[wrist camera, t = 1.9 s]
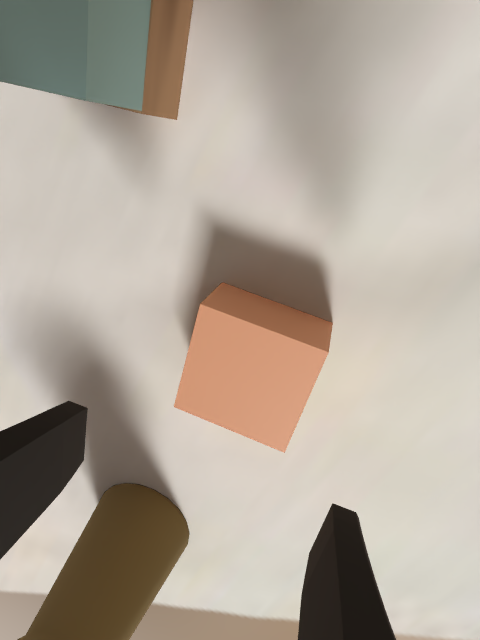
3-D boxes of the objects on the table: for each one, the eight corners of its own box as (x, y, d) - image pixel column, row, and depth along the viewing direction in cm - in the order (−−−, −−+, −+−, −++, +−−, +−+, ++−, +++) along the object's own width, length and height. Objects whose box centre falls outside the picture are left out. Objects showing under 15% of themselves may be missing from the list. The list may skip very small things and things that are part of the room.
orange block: (198, 372, 20) (173, 406, 17) (223, 280, 18) (200, 303, 15) (294, 410, 19) (284, 452, 17) (333, 320, 17) (328, 352, 14)
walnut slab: (65, 91, 16) (8, 79, 14) (69, -68, 14) (3, -118, 12) (178, 120, 16) (141, 114, 13) (201, -43, 14) (162, -91, 11)
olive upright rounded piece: (108, 467, 24) (-66, 686, 14) (200, 512, 23) (85, 775, 14) (93, 530, 27) (-62, 751, 17) (175, 572, 26) (64, 827, 16)
